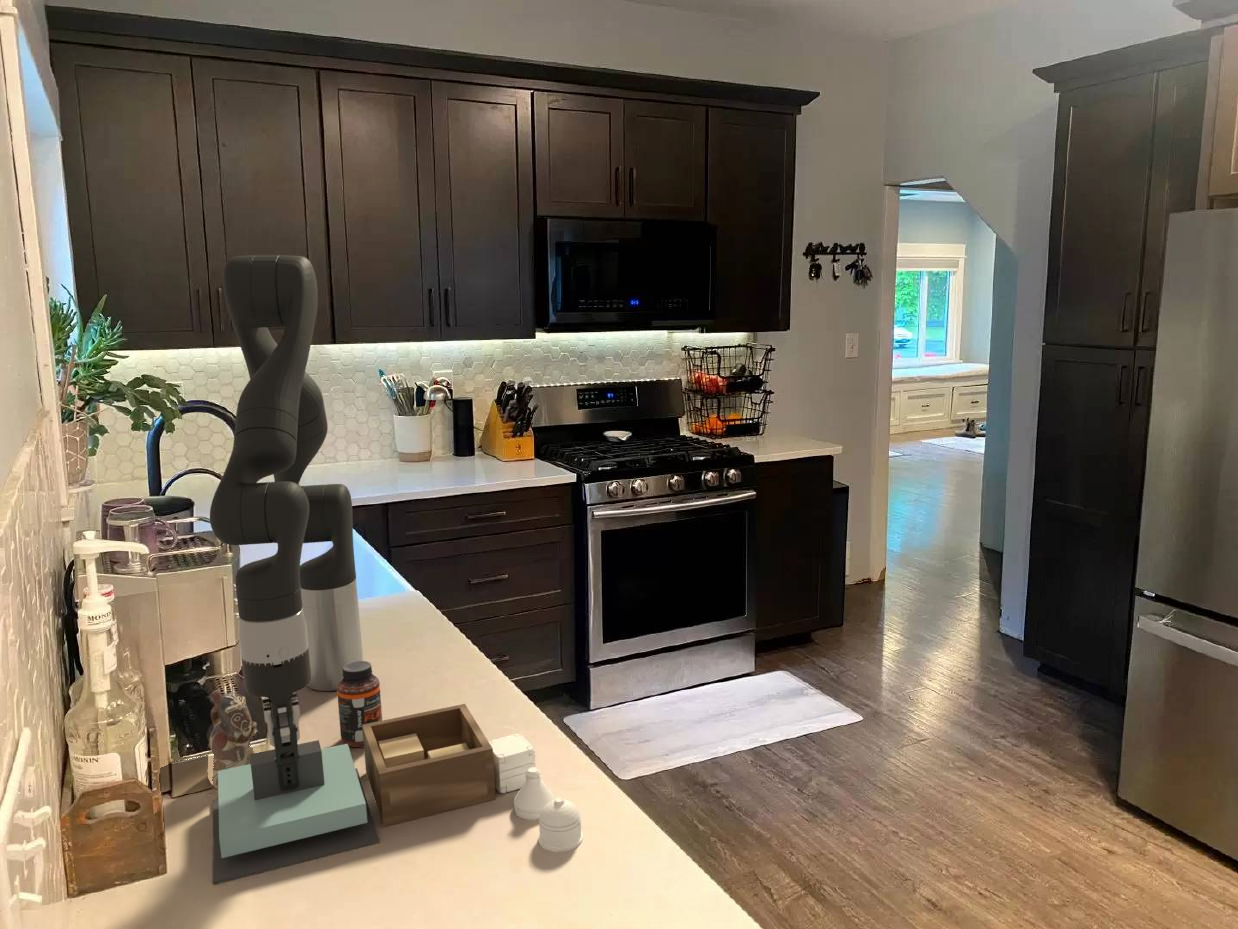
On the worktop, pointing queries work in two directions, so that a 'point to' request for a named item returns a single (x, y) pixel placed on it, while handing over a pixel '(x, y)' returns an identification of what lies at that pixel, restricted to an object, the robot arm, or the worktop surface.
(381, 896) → the worktop surface
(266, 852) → the mat
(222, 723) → the figurine
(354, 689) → the supplement bottle
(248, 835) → the lid
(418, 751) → the box
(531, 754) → the container set
